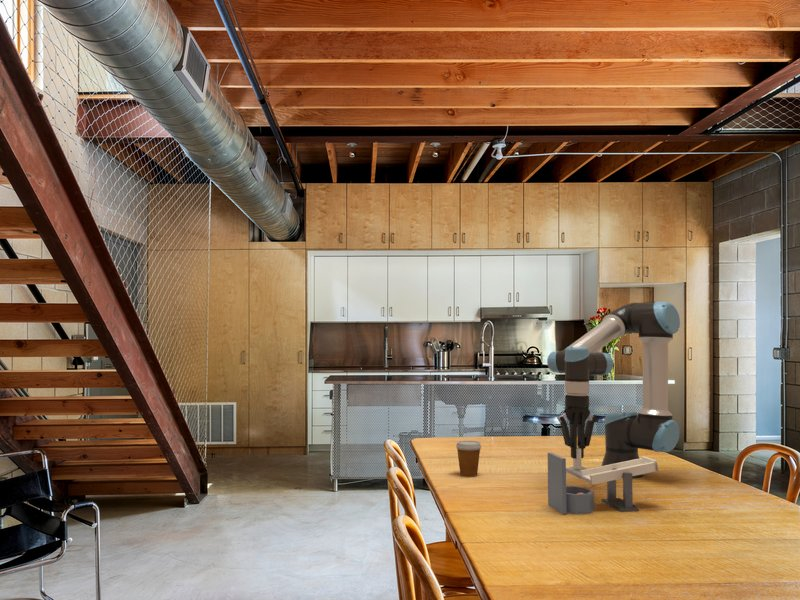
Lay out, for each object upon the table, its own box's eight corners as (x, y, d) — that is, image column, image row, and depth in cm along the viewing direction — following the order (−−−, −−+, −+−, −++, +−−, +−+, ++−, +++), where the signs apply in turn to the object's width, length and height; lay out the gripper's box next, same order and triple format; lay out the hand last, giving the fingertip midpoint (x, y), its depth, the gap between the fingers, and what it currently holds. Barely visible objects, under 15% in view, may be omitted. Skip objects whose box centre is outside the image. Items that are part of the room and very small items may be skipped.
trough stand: (619, 501, 196) (618, 465, 197) (638, 510, 185) (638, 473, 186) (601, 501, 195) (601, 466, 196) (620, 511, 184) (619, 474, 185)
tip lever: (626, 460, 207) (625, 450, 207) (658, 472, 189) (657, 460, 189) (566, 473, 202) (564, 462, 202) (593, 486, 185) (591, 474, 185)
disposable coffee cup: (480, 478, 226) (480, 445, 227) (454, 477, 228) (454, 444, 229) (482, 472, 236) (482, 440, 236) (457, 471, 238) (457, 440, 238)
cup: (582, 503, 194) (581, 451, 195) (599, 512, 183) (598, 457, 184) (547, 504, 191) (547, 452, 192) (563, 514, 181) (562, 459, 182)
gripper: (589, 393, 205) (590, 465, 204) (553, 393, 203) (553, 466, 201) (601, 395, 198) (601, 470, 196) (563, 395, 195) (563, 471, 194)
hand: (577, 468), depth 199 cm, fingers closed
